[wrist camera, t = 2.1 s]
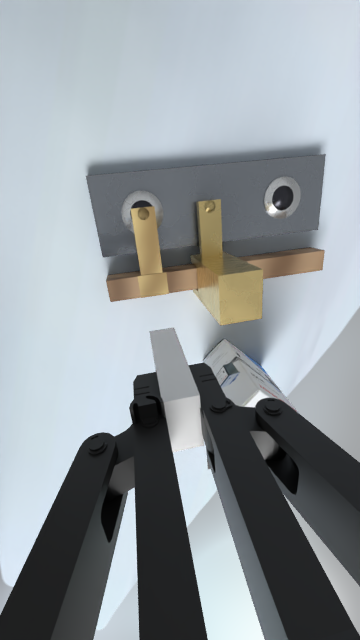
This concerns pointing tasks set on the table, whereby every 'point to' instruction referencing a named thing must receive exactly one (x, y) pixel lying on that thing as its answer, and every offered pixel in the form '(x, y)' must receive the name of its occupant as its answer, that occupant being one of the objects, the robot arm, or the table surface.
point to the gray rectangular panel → (209, 184)
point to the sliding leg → (224, 273)
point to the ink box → (241, 376)
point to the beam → (185, 276)
